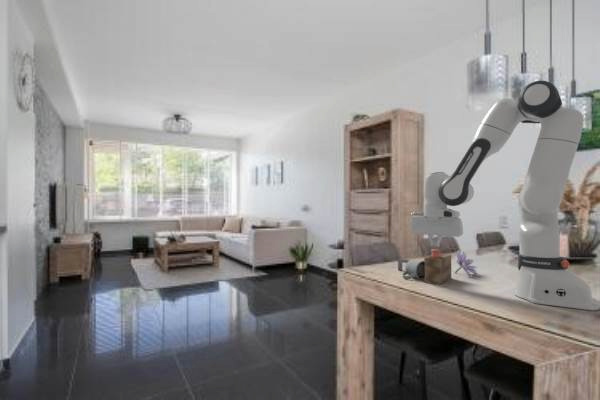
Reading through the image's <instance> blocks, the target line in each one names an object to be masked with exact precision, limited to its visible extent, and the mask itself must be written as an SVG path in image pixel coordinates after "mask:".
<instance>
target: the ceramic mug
mask: <svg viewBox="0 0 600 400" xmlns="http://www.w3.org/2000/svg"><path fill="white" fill-rule="evenodd" d="M409 260H410V261H408V262H407V263H405V270H404V272H403V271H402V274H401V276H402V277H403V279H405V280H411V279H413V278H415V279H418V280H421V281H422V280H424V281H425V261H424V260H419V259H418V260H417V259H409Z"/></svg>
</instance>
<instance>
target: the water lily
mask: <svg viewBox="0 0 600 400" xmlns="http://www.w3.org/2000/svg"><path fill="white" fill-rule="evenodd" d="M455 255H456V259H457V260H456V263H457V264H458V266H459V267H458V268H457V269H456V270H455V271H454V274H457V273H458V272H459V271H460V270H461V269H463V270H464V271H463V272H464V273H466V274H467V276H469V277H470V278H471V279H472V278H473V275H472V274H475V275H477V276H479V275H480V274H479V273H478V272H477V271H478V270H476V269H478V266H477V265H476V266H475V265H472V263H474V260H473V259H470V258H467V253H466V252H464V251H462V253H461V252H460V250H457V251H455Z"/></svg>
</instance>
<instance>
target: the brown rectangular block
mask: <svg viewBox="0 0 600 400" xmlns="http://www.w3.org/2000/svg"><path fill="white" fill-rule="evenodd" d="M423 259H424V260H423V261H425V279H424V283H426V284H432V285H439V286H441V285H443V284H444V283H446V282H448V281H449V280H451V279H452V254H446V253H440V258H432V254H430V255H428V256H426V257H424V258H423Z"/></svg>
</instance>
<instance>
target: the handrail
mask: <svg viewBox="0 0 600 400" xmlns="http://www.w3.org/2000/svg"><path fill="white" fill-rule="evenodd" d="M410 260H411V259H404V258H403V259H402V258H398V259H397V270H398V271H402V272H403V263H404V264H407V262H408V261H410Z"/></svg>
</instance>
